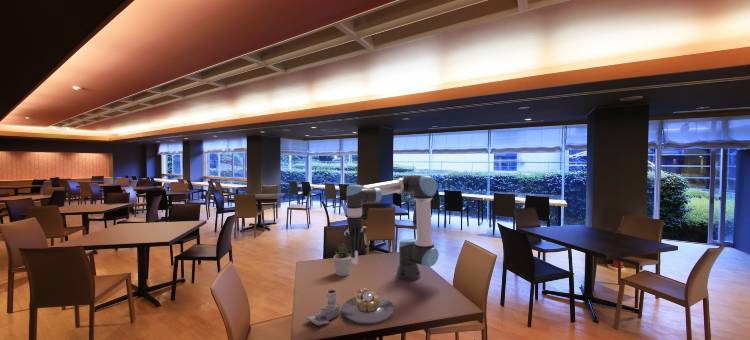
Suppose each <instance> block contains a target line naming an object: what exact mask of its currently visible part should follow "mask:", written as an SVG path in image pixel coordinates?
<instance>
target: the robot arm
mask: <svg viewBox="0 0 750 340" xmlns="http://www.w3.org/2000/svg"><path fill="white" fill-rule="evenodd" d="M437 188H438V187H437V182H436V180H435V179H434V178H433V177H432V176H430V175H422V174H421V175H417V174H416V175H413V174H412V175H406V176H405V175H404V176H402V177H398V178H397V177H396V178H394V180H390V181H389V180H387V181H382V182H378V183H377V182H375V183H371V184H365V185H361V184H348V185H347V186H346V216H347V217H346V224H347V228H346V230H345V231H343V232H342V234H343V236H344V239H345V243H346V244H345V245H346V249H348V250H347V251H350V254H351V257H352V264H353V265H358V264H359V258H358V257H359V253H360V252H359V251H361V249H362V248H363V243H364V237H365V232H366V231H367V230H366V228H364V227H363V225H362V224H363V217H362V216H363V204H368V203H370V204H371V203H377V202H378V203H379V202H380V201H381V200H382V198H383V196H384V195H385V196H387V195H391V194H395V193H396V194H399V195H401V194H409V195H412V198H413V200H415V211H416V212H415V213H416V214H415V215H416V238H407V239H402V240H400V242H399V245H398V247H399V251H398V255H399V262H398V267H397V270H396V277H397V278H398V279H400V280H405V281H415V280H418V279H420V278H421V271H420V267H419V265H421V266H423V267H427V268H431V267H434V265H436V263H437V261H438V260H439V250H438V249H437V248H436V247H435V243H434V241H433V240H432V213H431V212H432V211H431V207H432V205H431V201H432V200H433V198H434V195H435V194H436V193H437Z"/></svg>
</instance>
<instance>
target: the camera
mask: <svg viewBox="0 0 750 340" xmlns="http://www.w3.org/2000/svg"><path fill="white" fill-rule="evenodd" d="M326 296H327V297H326V298H327V304H326V305H324V306H322V307H321V308H320V312H317V313H316V314H314V315H312V316H305V319H306V320H307V321H309V322H311V323H313V324H314V325H317V326H321V325H322V326H323V325H327V324H330V320H331V321H332V320H333V319H334V318H336V317H338V316H339V315H340V306H341V305H340V303H338V302H337V289H334V288H331V289H328V290H327V291H326Z"/></svg>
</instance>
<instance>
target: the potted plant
mask: <svg viewBox="0 0 750 340" xmlns="http://www.w3.org/2000/svg"><path fill="white" fill-rule="evenodd" d="M337 245H338V246H336V248H337V249H338V252H337V251H334V254H335V255H333V257H332V258H333V262H334V268H335V273H336V275H337V276H339V277H347V276H349V275H350V274H351V270H352V264H353V263H352V257H351V251H350V250H348V249H347V244H344V245H343V244H340V245H339V244H337Z"/></svg>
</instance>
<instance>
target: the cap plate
mask: <svg viewBox="0 0 750 340" xmlns="http://www.w3.org/2000/svg"><path fill="white" fill-rule="evenodd" d="M363 291H366V293H363V299H365V300H366V302H372V301H373V294H372V293H370V292H371V291H370V292H369V291H368V288H367V287H363ZM377 296H378V297H379V298H380V307H379V308H378V309H377V310H375V311H370V312H368V311H367V312H365V311H360V310H358V309H357V307H356V298H357V296H354V297H351V298H349V299H347V300H346V301H345V302H344V303H343V304H342V306H341V314H342V316H343V318H344V319H345V320H347V321H348V322H351V323H353V324H356V325H363V326H364V325H365V326H372V325H377V324H382V323H384V321H385V322H386V320H387V321H389V320H390V319H391V318H392V317H393V315H394V308H395V307H394V306H395V305H394V304H393V302H392V301H391V300H390V299H387V298H386V297H383V296H379V295H377Z"/></svg>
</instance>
